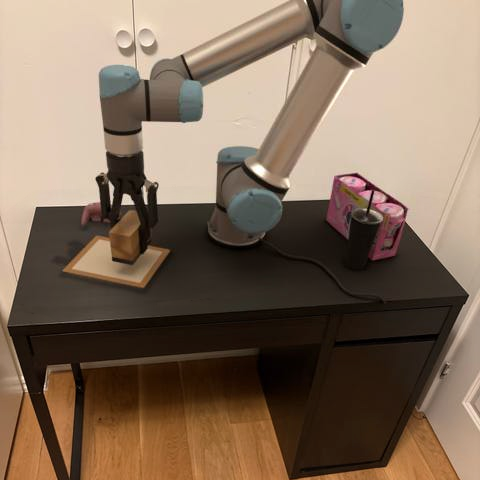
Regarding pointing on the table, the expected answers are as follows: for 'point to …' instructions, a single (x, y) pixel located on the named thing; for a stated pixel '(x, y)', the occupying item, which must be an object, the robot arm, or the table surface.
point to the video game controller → (93, 213)
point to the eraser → (126, 239)
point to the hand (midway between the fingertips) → (132, 248)
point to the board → (115, 264)
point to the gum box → (356, 197)
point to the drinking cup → (362, 235)
